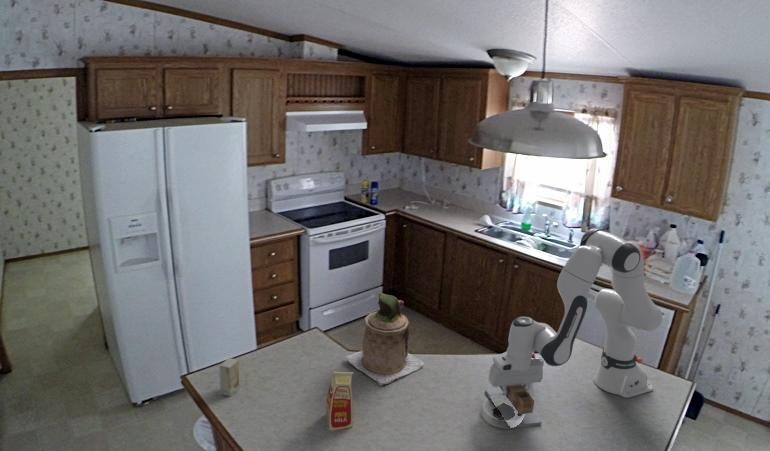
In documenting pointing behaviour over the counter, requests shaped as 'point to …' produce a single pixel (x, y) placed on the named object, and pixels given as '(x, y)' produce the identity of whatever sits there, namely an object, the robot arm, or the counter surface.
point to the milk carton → (340, 401)
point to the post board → (508, 411)
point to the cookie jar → (386, 344)
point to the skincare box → (229, 376)
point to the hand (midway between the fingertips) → (513, 393)
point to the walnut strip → (520, 398)
